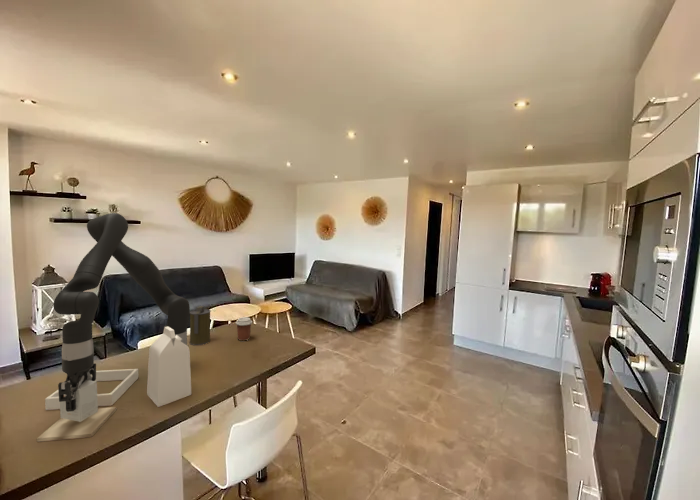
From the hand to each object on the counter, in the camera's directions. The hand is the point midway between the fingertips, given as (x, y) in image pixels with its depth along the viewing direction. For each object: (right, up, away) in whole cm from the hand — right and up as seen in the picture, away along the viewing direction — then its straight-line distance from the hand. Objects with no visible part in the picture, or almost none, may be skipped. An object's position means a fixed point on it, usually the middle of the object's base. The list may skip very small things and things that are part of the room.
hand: (79, 403), depth 97 cm
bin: (-10, -5, +19) cm, 22 cm away
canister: (+3, -2, +72) cm, 72 cm away
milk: (+17, -7, +19) cm, 27 cm away
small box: (0, -4, 0) cm, 4 cm away
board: (0, -7, 0) cm, 7 cm away
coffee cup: (+25, -3, +78) cm, 82 cm away
